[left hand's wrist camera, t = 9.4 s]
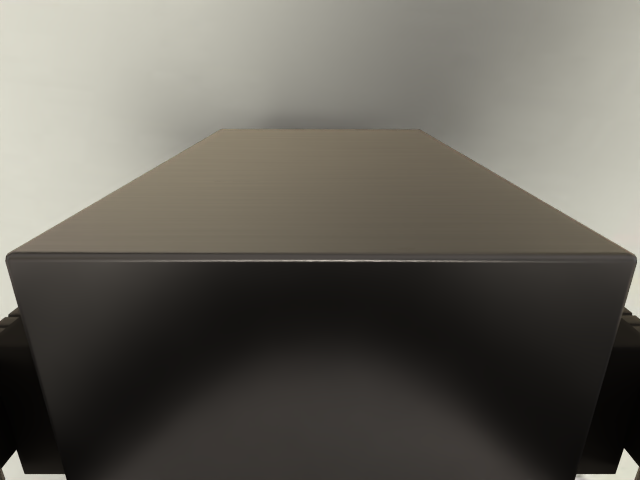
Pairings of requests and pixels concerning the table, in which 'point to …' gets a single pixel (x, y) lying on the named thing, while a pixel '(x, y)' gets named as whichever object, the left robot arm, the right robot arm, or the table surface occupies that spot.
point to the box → (320, 317)
